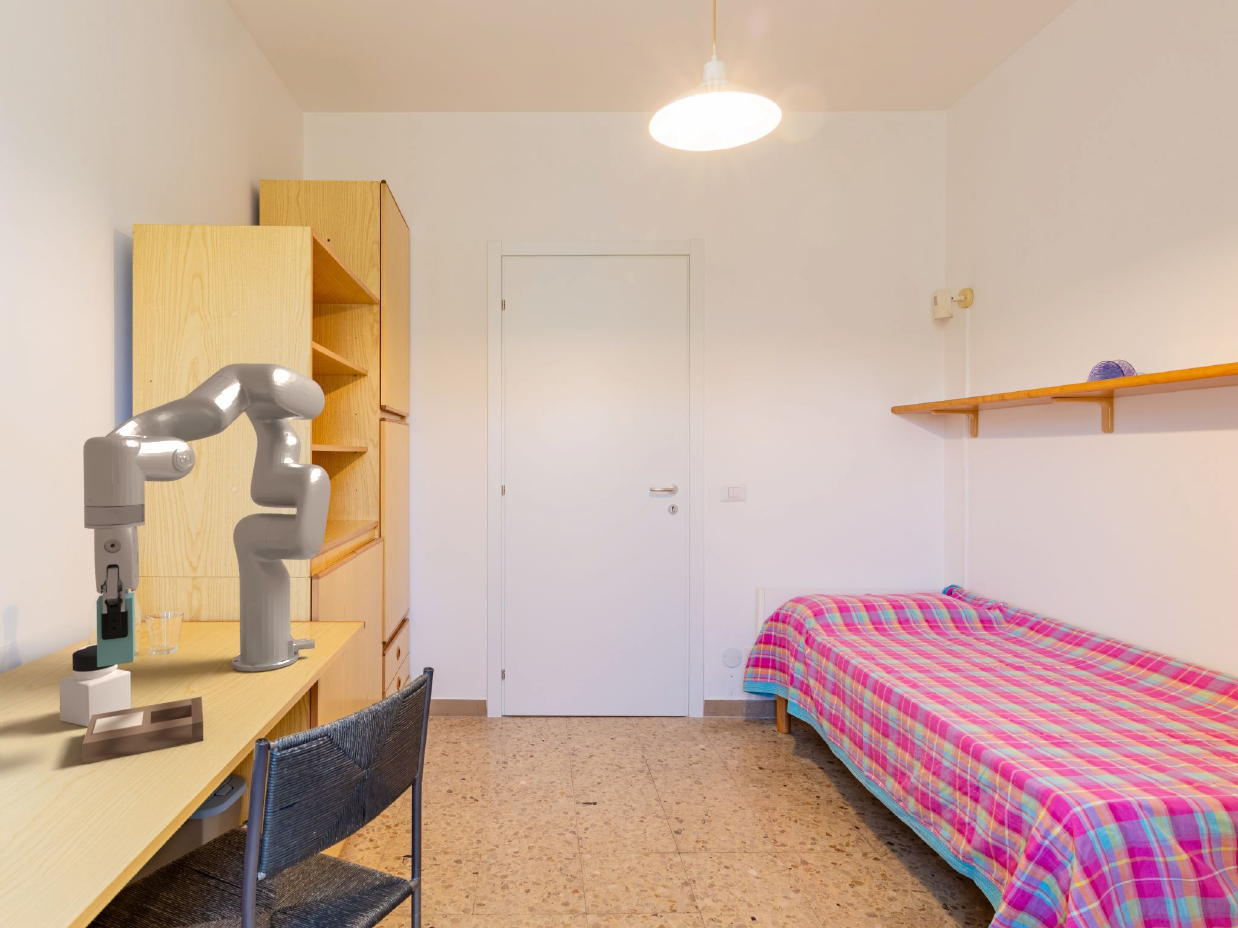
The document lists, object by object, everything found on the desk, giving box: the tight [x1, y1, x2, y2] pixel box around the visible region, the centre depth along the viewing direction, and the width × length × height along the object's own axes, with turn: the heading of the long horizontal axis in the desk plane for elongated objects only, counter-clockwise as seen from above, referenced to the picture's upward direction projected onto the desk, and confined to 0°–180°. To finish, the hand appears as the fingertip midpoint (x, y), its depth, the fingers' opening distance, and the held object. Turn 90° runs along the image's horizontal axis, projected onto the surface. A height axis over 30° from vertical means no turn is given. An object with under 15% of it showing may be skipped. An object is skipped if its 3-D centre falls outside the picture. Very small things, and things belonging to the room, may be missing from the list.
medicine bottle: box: [58, 643, 132, 728], centre depth 115 cm, size 7×7×12 cm
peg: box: [95, 592, 136, 667], centre depth 105 cm, size 4×4×10 cm
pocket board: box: [81, 696, 204, 765], centre depth 108 cm, size 15×12×3 cm
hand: (116, 632), depth 105 cm, fingers closed on peg, 4 cm apart
